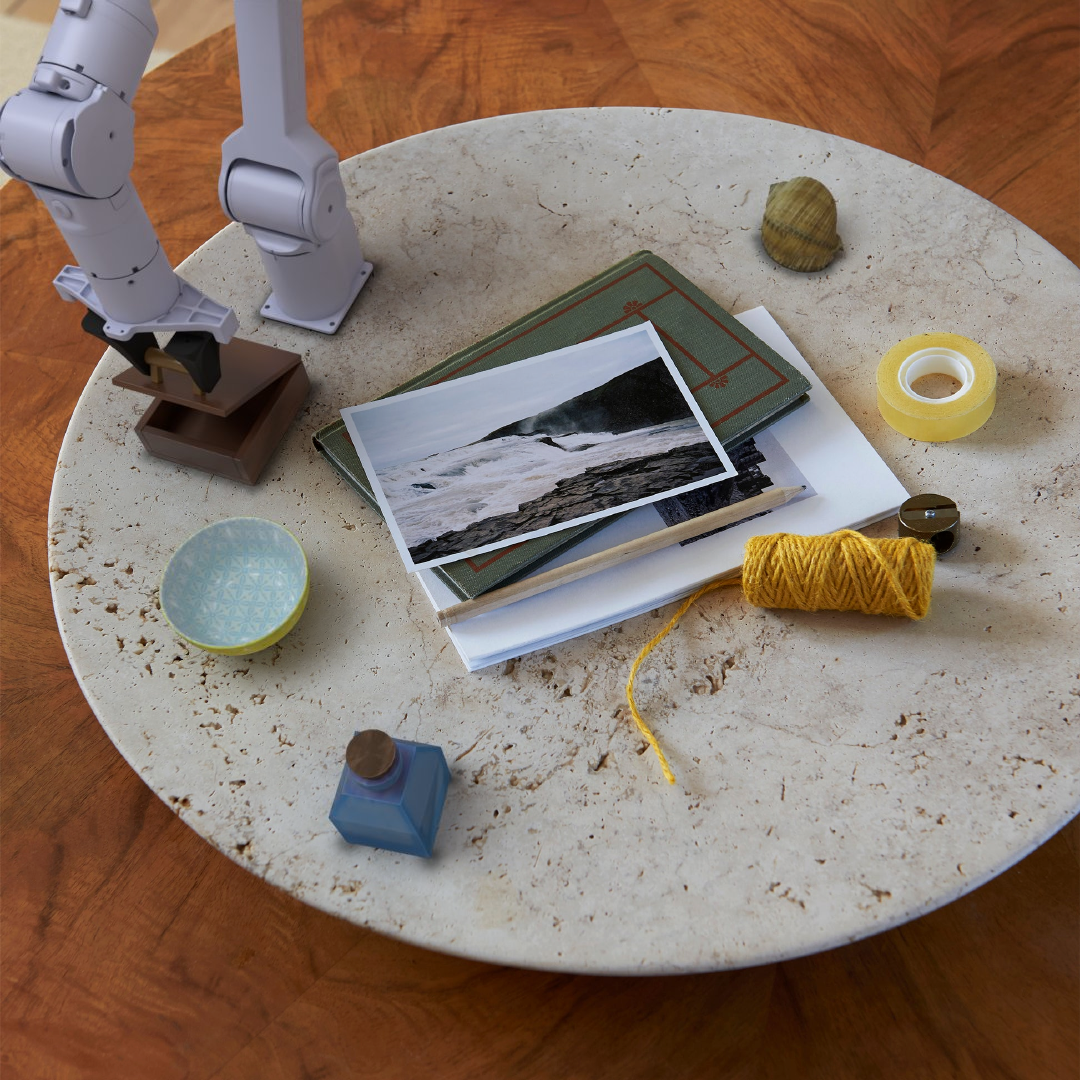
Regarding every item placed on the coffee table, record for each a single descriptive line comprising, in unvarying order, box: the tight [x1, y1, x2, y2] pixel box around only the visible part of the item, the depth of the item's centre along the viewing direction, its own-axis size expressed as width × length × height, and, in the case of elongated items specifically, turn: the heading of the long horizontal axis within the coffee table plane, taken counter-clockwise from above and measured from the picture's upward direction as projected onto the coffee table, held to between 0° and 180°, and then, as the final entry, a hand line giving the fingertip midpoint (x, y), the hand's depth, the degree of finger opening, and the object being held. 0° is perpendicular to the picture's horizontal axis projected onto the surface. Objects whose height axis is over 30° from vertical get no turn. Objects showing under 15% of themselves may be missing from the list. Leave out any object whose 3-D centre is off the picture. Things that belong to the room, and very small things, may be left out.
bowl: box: [158, 515, 311, 656], centre depth 82 cm, size 11×12×6 cm
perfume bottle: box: [327, 728, 452, 860], centre depth 71 cm, size 6×6×12 cm
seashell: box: [760, 176, 845, 273], centre depth 102 cm, size 10×7×8 cm
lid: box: [111, 336, 303, 417], centre depth 88 cm, size 12×11×4 cm
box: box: [133, 359, 313, 487], centre depth 93 cm, size 12×11×4 cm
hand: (182, 375), depth 85 cm, fingers closed on lid, 5 cm apart
